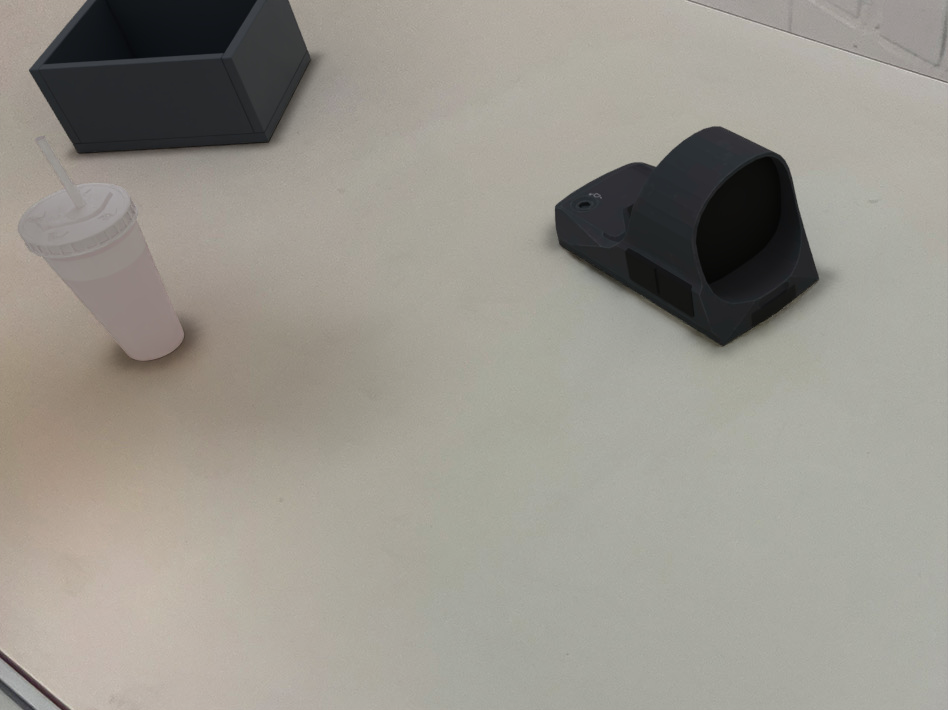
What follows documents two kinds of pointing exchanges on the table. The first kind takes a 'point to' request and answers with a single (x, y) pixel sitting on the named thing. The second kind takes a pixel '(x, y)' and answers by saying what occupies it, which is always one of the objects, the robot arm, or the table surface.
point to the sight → (697, 232)
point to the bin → (172, 72)
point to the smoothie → (103, 260)
